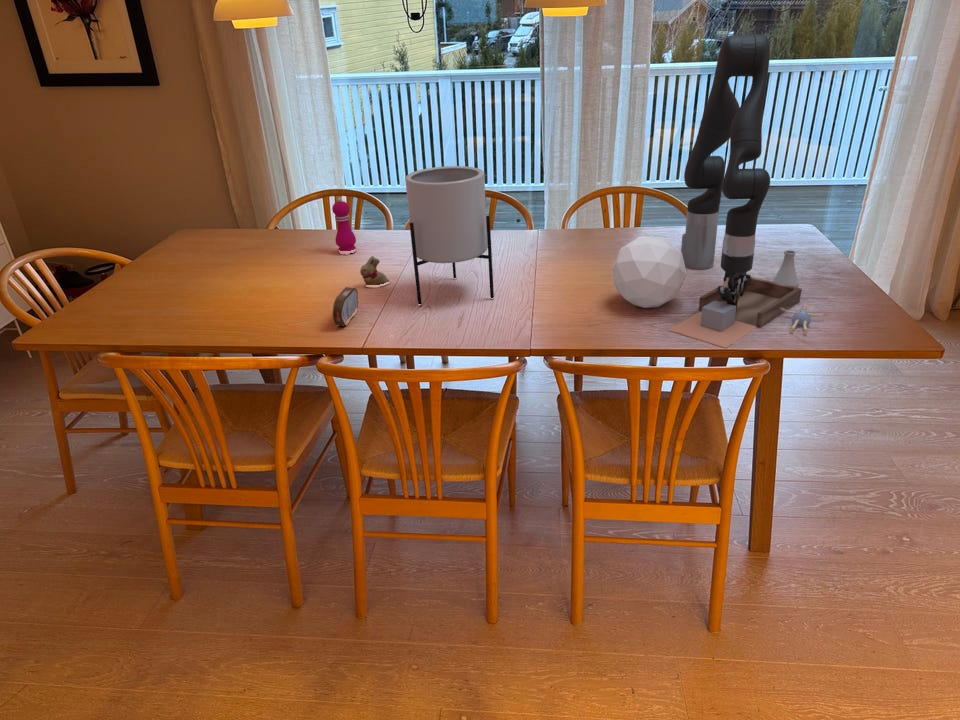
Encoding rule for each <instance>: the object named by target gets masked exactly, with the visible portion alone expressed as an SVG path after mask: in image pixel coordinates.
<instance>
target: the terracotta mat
mask: <svg viewBox="0 0 960 720" xmlns="http://www.w3.org/2000/svg"><path fill="white" fill-rule="evenodd" d="M701 314H702V311H699V312H697V313H695V314H693V315H691V316H690V317H688V318H686V319H684V320H683V321H681V322H679V323H678V324H675V325H673V326H672V327H670V328H669V329H668V331H669V332H672V333H675V334H680V335H682V336H685V337H688V338H691V339H695V340H699V341H701V342H705V343H707V344H709V345H714V346H716V347H720V348H724V349H728V348H729V347H730V346H732V345H734V343H736V342H737V341H738V340H740V339H742V338H744V337H745V336H747V335H748V334H749V333H751V332H752V331H754V330H756V329H757V328H758V327H756V326H753V325H749V324H746V323H742V322H739V321H734V325H732V326H730V327H729V328H727V329H725V330H724V331H722V332H721V331H718V330H714V329H711V328H708V327H704V326H701V325H700V324H701Z"/></svg>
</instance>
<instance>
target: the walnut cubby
mask: <svg viewBox="0 0 960 720" xmlns="http://www.w3.org/2000/svg"><path fill="white" fill-rule="evenodd" d="M722 285H723V284H721V285H720V286H722ZM717 288H718V287H716V288H714V289H712V290H710V291H708V292H707V293H705V294H703V295H701V296H699V303H698V311H699V312H700V311H702V307H704V306H706V305H707V304H709V303H711V302H713V301H719V302H723V303H727V302H726V301H722V299H721V297H720V294H719V292H718V290H717ZM802 290H803V289H802V288H801V287H793V286H788V285H784V284H780V283H775V282H773V281H771V280H767V279H766V280H765V279H762V278H757V277H753V276H751V278H750V280H749V283H748V285H747V287H746V289H745V292H744V294H743V296H742V297H741V296H740V299H739V301H738V303H737V311H736V314H735V321H739V322H742V323H746V324H749V325H753V326H756V327H757V328H762V327H764V326H766V325H767V324H769V323H770V322H771V321H773V320H775V319H776V318H777V317H779V316H781V315H782V314H784V313H786V311H783V310H780V309H782V308H784V310H788V311H789V309H791V308H792V307H794V306H796V305H797V304H799V303H800V301H801V295H802ZM780 307H782V308H780ZM779 308H780V309H779Z"/></svg>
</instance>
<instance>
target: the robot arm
mask: <svg viewBox="0 0 960 720" xmlns="http://www.w3.org/2000/svg"><path fill="white" fill-rule="evenodd" d="M770 59H771V44H770V40H769V37H768V36H767V35H765V34H732V35H727V36H726V37H725V38H724V40H723V41H722V44H721V46H720V49H719V53H718V56H717V62H716V66H715V71H714V76H713V80H712V84H711V88H710V93H709V95H708V99H707V101H706V104H705V107H704V110H703V112H702V113H703V114H702V116H701V117H702V118H701V120H700V122H699V128H698V132H697V136H696V139H695V142H694V145H693V147H692V149H691V152H690V154H689V156H688V159H687V162H686V164H685V168H684V173H683V175H684V176H683V177H684V178H683V179H684V183H685V186H686V187H687V188H690V189H693V190H694V189H695V190H696V189H697V190H698V189H700V190H701V189H706V191H704V192H703V193H702V194H700V195H698V196H695V197H693V198H691V199H690V200H688V201H687V209H686V221H685V233H682V237H681V245H680V247H681V249H680V251H681V252H682V256H683V260H684V264H685V268H688V269H691V270H692V269H693V270H705V269H706V270H707V269H710V268H712V267H714V264H715V263H714V262H715V255H716V254H715V253H716V245H717V233H718V224H719V215H720V205H721V201H722V194H723V196H725V198H726V199H728V200H748V201H747V203H746V204H742V205H740V206H736V207H733V208H730V209H729V210H728V211H727V212H726V213H727V214H726V218H725V219H726V221H725V228H724V229H725V230H724V235H723V241H722V248H721V257H720V268H721V269H722V270H723V271H724V276H723V284H721V285H722V286H721V285H718V287H716V288H717V290H718V292H719V294H720V297H721V299H722V301H726V302H727V304H730V305H734V306H736V311H737V303H738V301H739V299H740V296H741V297H742V296H743V294H744V292H745V289H746V287H747V285H748V283H749V280H750V278H751V277H752V276H751V274H747V272H750V271H751V270H752V269H753V264H754V257H755V256H754V255H755V250H756V249H755V247H756V231H757V223H758V217H759V214H760V210H761V207H762V205H763V203H764V200H765V199H766V196H767V195H768V192H769V189H770V186H771V176H770V174H769V172H768V171H767V169H765V168H760V167H759V168H757V167H756V168H740V165H743V164H744V163H749V162H753V161H755V160H757V159H758V158H760V156H761V155H762V150H763V148H762V147H763V146H762V145H763V143H762V142H763V141H762V138H763V137H762V136H763V133H762V131H763V130H762V127H763V123H762V122H763V112H764V111H763V110H764V105H765V97H766V90H767V83H768V74H769V67H770ZM732 77H737V78H738V77H751V78H752V79H751V80H752V81H751V85H750V89H749V92H748V94H747V96H746V97H745V99H744V100H743V102H742V103H741V105H740V103H739V101H738V100H737V97H736V96H735V94H734V93H733V92H734V91H733V90H732V88H731V85H730V81H729V80H730V78H732ZM729 140H730V141H729ZM728 141H729V156H728V157H729V158H728V161H727V162H728V163H727V166H726V162H725V160H724V158H723V156H720V155H711V154H713V153H714V152H716V151H717V150H718V149H720V148H721V147H723V145H724V144H726V143H727V142H728ZM725 170H726V171H725ZM735 314H736V313H735Z"/></svg>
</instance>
